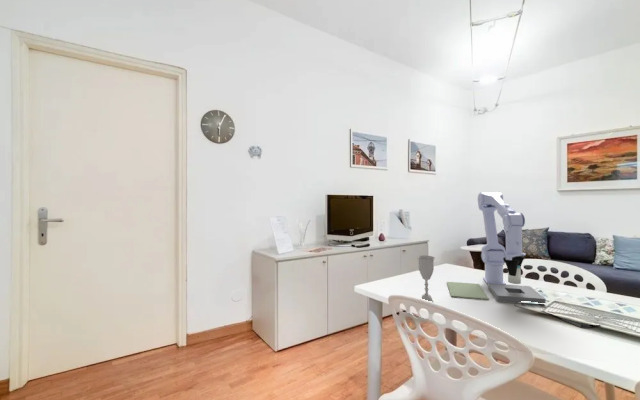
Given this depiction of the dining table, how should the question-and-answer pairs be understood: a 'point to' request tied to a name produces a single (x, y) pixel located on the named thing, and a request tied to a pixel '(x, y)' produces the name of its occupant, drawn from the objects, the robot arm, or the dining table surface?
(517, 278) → the cylinder
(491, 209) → the robot arm
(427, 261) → the chalice
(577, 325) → the phone
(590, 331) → the dining table surface
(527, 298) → the housing
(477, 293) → the mat
